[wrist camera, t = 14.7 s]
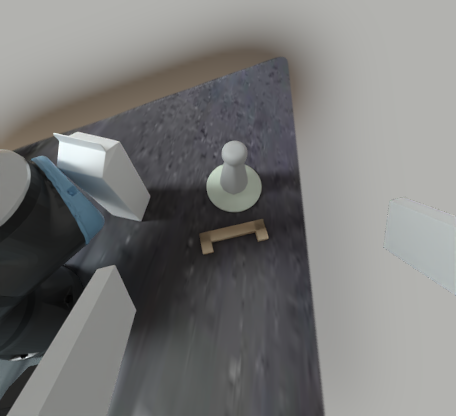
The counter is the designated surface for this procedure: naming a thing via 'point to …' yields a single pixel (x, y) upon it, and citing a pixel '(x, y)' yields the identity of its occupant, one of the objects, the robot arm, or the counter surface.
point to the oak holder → (232, 234)
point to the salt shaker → (234, 167)
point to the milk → (103, 173)
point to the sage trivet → (235, 201)
